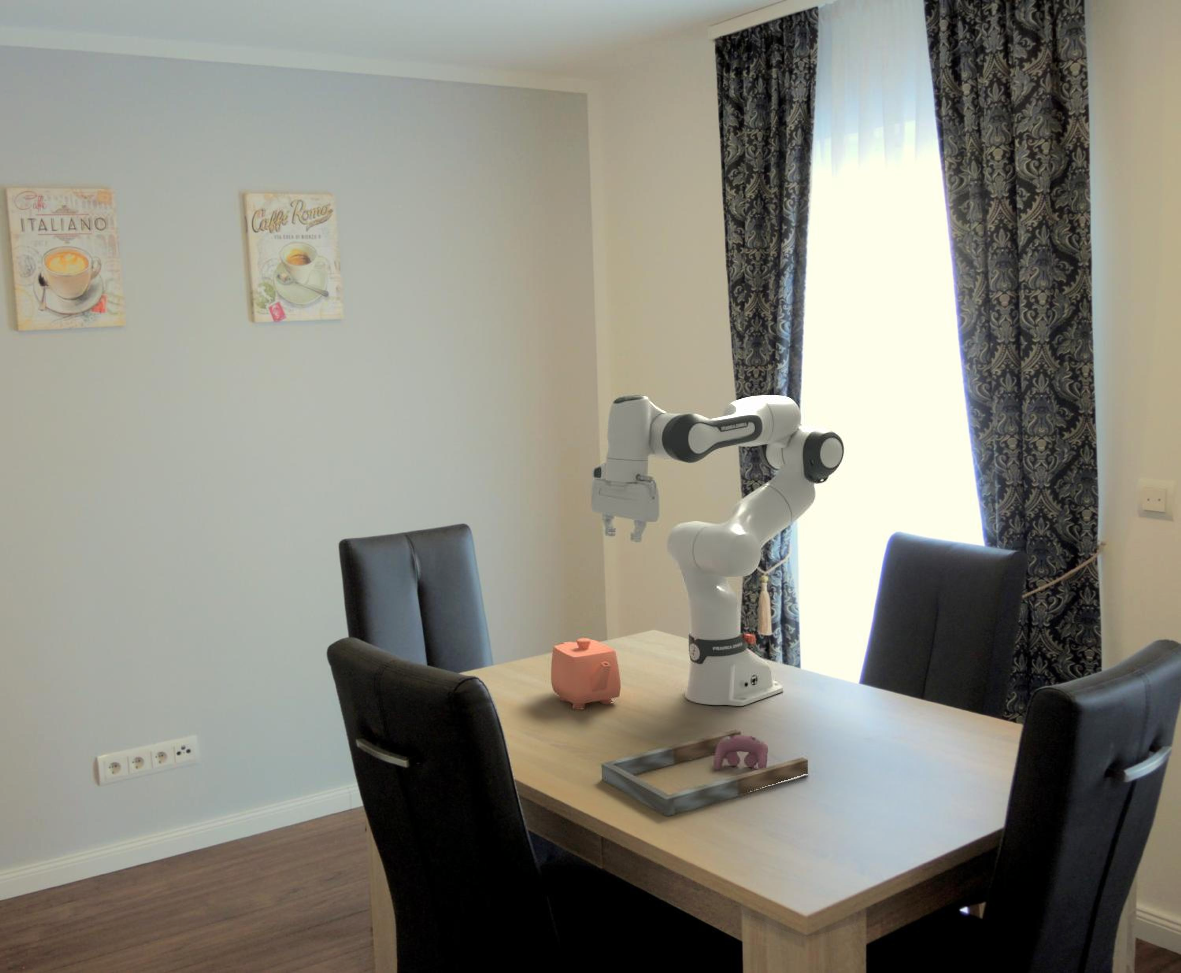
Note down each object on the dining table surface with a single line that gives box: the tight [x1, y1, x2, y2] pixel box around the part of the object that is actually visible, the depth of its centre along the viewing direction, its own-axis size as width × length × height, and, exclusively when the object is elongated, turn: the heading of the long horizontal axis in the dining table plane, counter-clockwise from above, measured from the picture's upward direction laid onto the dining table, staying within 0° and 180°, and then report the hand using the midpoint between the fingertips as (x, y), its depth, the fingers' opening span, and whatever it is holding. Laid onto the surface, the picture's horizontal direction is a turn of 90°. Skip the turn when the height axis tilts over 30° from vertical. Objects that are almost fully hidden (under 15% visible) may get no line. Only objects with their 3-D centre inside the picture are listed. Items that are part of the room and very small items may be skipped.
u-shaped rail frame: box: [600, 729, 809, 817], centre depth 210 cm, size 31×21×3 cm
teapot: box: [550, 637, 622, 710], centre depth 258 cm, size 22×13×14 cm, turn 25°
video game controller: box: [713, 734, 769, 771], centre depth 214 cm, size 10×5×7 cm, turn 71°
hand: (622, 538), depth 241 cm, fingers open, 8 cm apart
